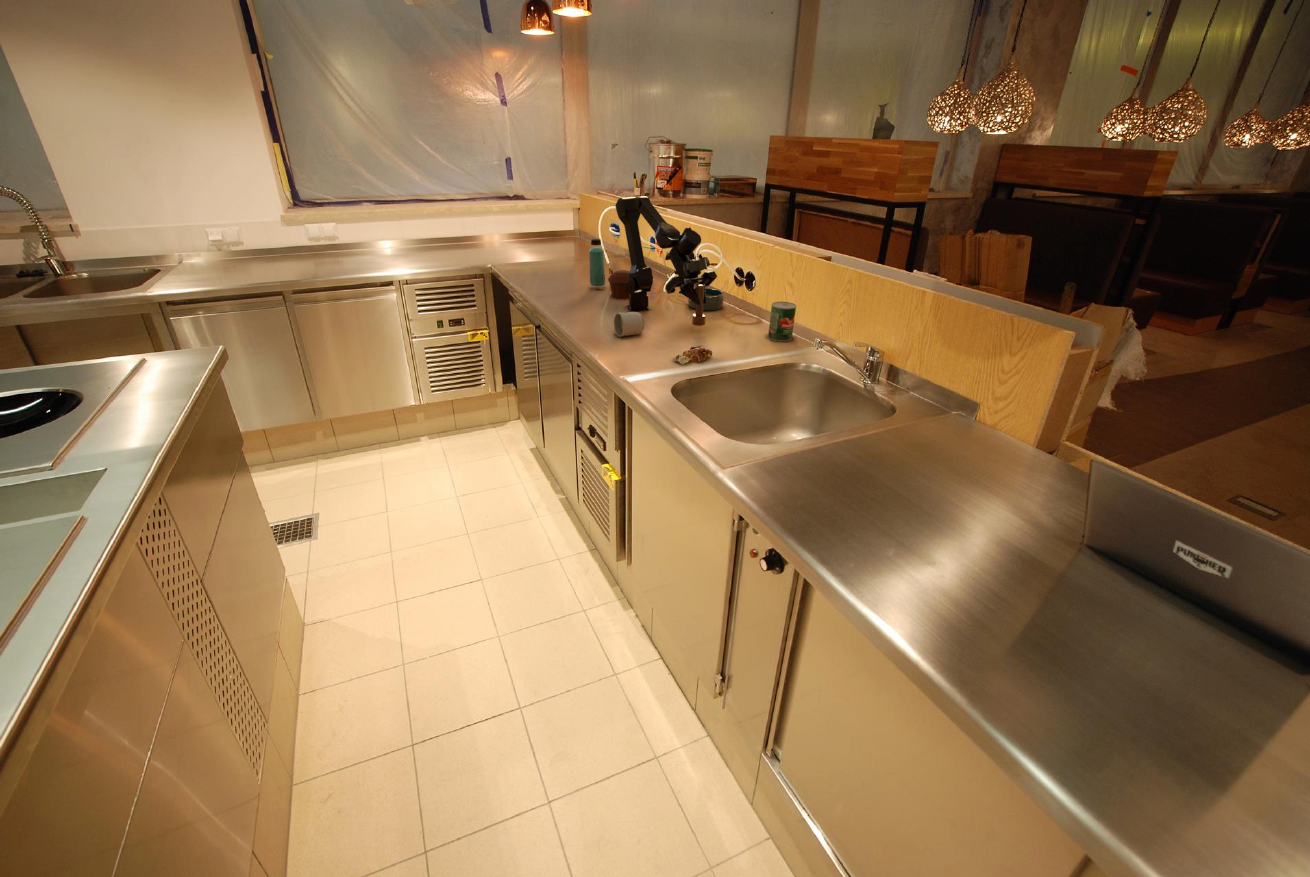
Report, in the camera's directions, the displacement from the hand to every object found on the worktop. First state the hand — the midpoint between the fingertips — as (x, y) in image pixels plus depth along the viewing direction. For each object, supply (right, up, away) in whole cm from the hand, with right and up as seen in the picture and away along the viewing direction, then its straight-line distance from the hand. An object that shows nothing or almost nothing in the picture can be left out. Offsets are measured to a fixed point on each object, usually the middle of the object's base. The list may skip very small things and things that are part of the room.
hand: (702, 304), depth 188 cm
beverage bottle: (-40, +20, +55) cm, 71 cm away
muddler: (-1, -6, +4) cm, 7 cm away
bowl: (+4, +7, +33) cm, 34 cm away
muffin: (-29, +14, +45) cm, 55 cm away
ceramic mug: (-25, -10, +2) cm, 27 cm away
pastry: (-4, -21, -17) cm, 27 cm away
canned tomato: (+26, -11, +1) cm, 28 cm away
